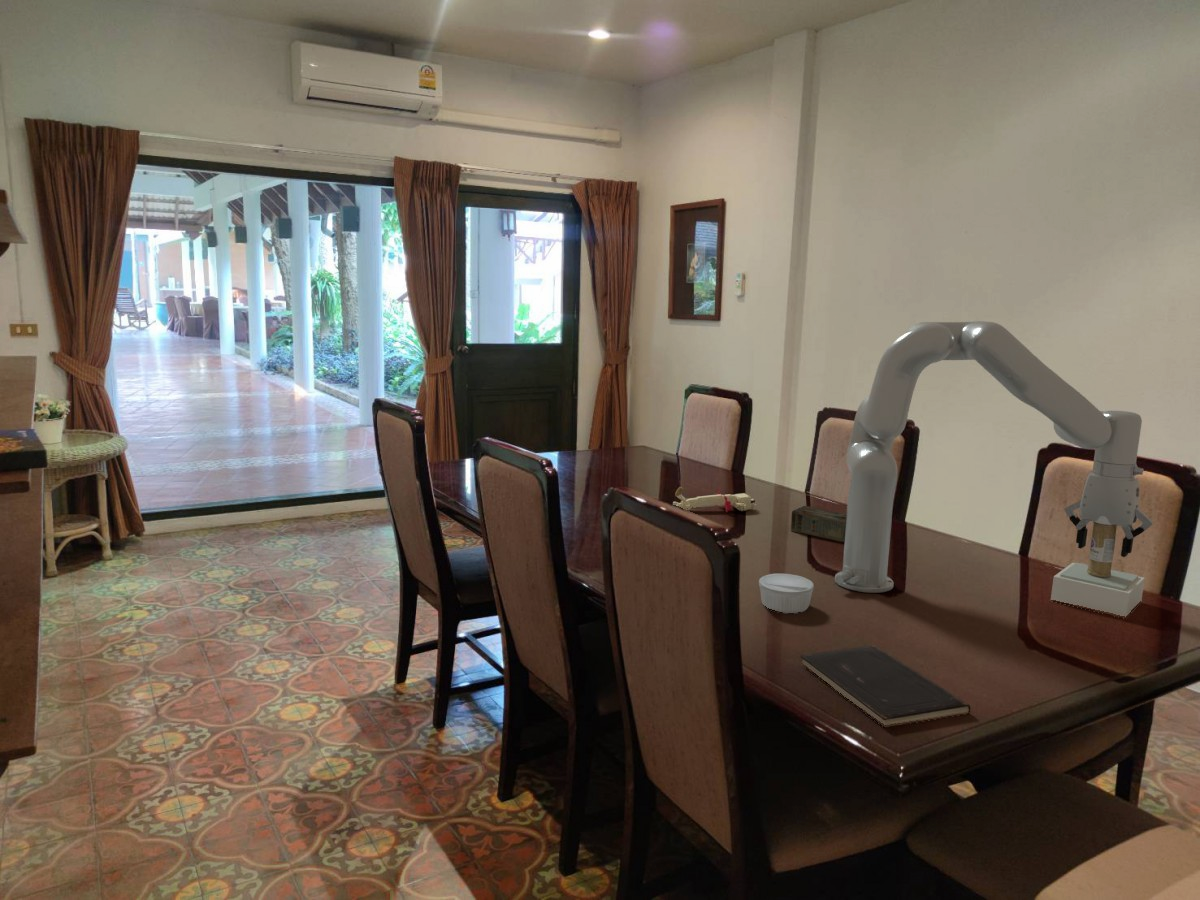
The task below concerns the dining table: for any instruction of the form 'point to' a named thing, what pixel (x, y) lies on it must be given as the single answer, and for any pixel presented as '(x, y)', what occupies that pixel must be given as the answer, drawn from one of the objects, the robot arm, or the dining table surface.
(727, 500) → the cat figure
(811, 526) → the beverage carton
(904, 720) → the hardcover book
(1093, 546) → the sprinkles bottle
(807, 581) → the ramekin
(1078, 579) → the white rimmed tray
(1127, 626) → the dining table surface
